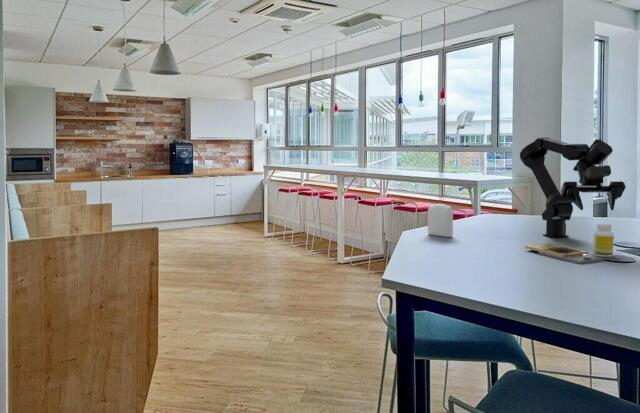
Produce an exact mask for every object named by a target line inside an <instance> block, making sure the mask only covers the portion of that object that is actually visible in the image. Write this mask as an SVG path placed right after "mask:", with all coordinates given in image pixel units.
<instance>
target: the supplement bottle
mask: <svg viewBox="0 0 640 413" xmlns="http://www.w3.org/2000/svg"><path fill="white" fill-rule="evenodd" d="M596 224H597V225H596V229H597V230H595V231H594V234H593V248H592V249H593V250H592V251H593V252H592V255H593V256H598V257H602V258H611V257H613V253H614V240H615V239H614V235H615V234H614V232H613V231H611V230H612V226H613V225H612V224H609V223H596Z"/></svg>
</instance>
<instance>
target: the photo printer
mask: <svg viewBox="0 0 640 413" xmlns="http://www.w3.org/2000/svg"><path fill="white" fill-rule="evenodd" d="M427 208H428V209H427V234H428V235H429V236H430V235H431V236H439V237H445V238H451V237H453V235H454V214H453V213H454V211H453V208H452V207H451V206H450V205H447V204H444V203H435V204H431V205H429V206H428V207H427Z"/></svg>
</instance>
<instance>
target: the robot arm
mask: <svg viewBox="0 0 640 413" xmlns="http://www.w3.org/2000/svg"><path fill="white" fill-rule="evenodd" d="M548 151H549V152H553V153H557V154H560V155H561V156H562V157H563V158H564V159H566V160H567V161H577V162H576V164H575V165H574V167H573V171H574V172H578V177H579V184H578V181H564V182H563V183H562V185H561V188H560V191H559V189H558V188H557V185H556V184H555V182H554V180H553V178H552V176H551V175H550V172H549V170H548V168H547V167H546V165H545V161H546V155H547V154H548ZM612 153H613V147H612V145H609V144H608V143H607V142H605V141H602V139H595V140H594V141H593V142H592V144H591V145H590V146H589V145H588V144H586V143H568V142H565V141H560V140H558V139H557V140H556V139H552V138H550V137H546V136H545V137H538V138H536V139H535V140H533V142H531V143H529V144H528V145H526V146H525V147H523V148H522V149H521V151H520V152H519V158H520V161H521V162H522V163H523V165H524V166H526V168H528V169H530V170H531V172H532V174H534V177H535V179H536V181H537V183H538V185H539V186H540V188H541V190H542V193H543V194H544V196H545V198H546V200H545V201H546V202H545V210H543V212H542V213H541V219H542V221H546V227H545V230H546V231H545V233H543V234H542V236H545V237H549V238H555V239H557V238H566V237H569V234H567V232H566V230H567V224H566V221H570V220H571V217H572V215H573V212H574V207H573V204H574V205H575V206H576V207H578V209H579V210H581V211H583V210H584V205H583V202H582V198H581V195H580V193H588V194H589V193H590V194H591V193H594V194H595V193H597V194H599V193H600V194H601V193H603V194H605V193H606V196H607V202H608V205H609V208H610V210H611V211H614V209H615V203H616V200H618V199H620V198H621V197H622V196H623V194H624V192H625V189H626V183H625V182H624V181H621V180H620V181H614V180H613V181H610V183H609V185H602V184H603V183H604V178H605V177H609V176H610V175H611V174H612V169H611V165H602V166H601V164H603V163H604V162H605V161H606V160H607V158H609V156H611V154H612ZM599 165H600V166H599Z"/></svg>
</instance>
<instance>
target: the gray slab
mask: <svg viewBox="0 0 640 413" xmlns="http://www.w3.org/2000/svg"><path fill="white" fill-rule="evenodd" d="M524 248H525V249H528V250H531V251H533V252H538V254H539V255H542V256H547V257H550V258H553V259H559V260H563V261H567V262H571V263H574V264H578V265H583V264H589V263H597V262H604V261H606V257H600V256H595V255H594V254H590V253H589V251H585V250H582V249H578V248H572V247H568V246H563V245H559V244H556V243H555V244H554V243H550V242H545V243H538V244H537V243H536V244H529V245H525V246H524Z"/></svg>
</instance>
